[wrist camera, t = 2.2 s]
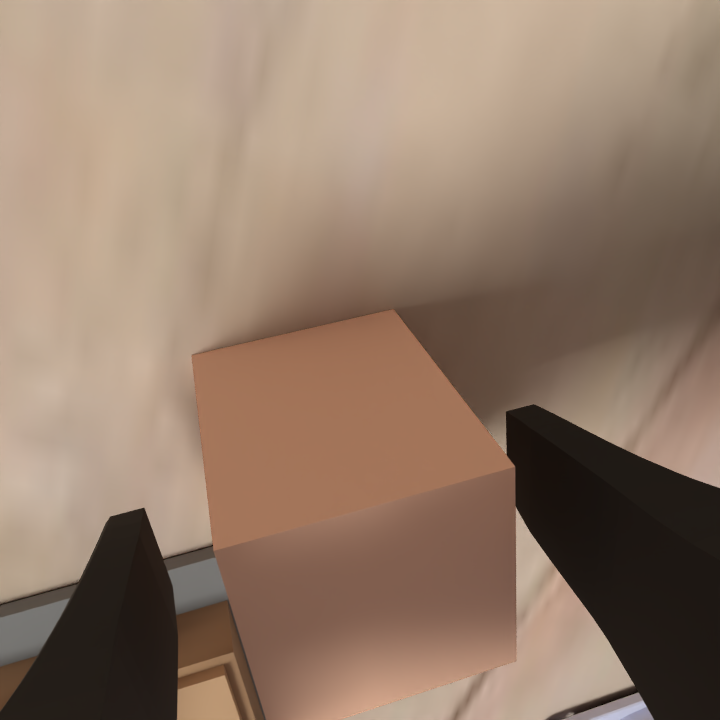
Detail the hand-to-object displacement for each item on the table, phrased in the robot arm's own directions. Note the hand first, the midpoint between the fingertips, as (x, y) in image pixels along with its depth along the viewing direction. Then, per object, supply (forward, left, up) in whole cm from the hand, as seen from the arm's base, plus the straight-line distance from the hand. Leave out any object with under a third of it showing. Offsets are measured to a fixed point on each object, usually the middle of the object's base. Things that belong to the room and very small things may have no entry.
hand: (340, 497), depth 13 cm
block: (0, 0, -3) cm, 3 cm away
